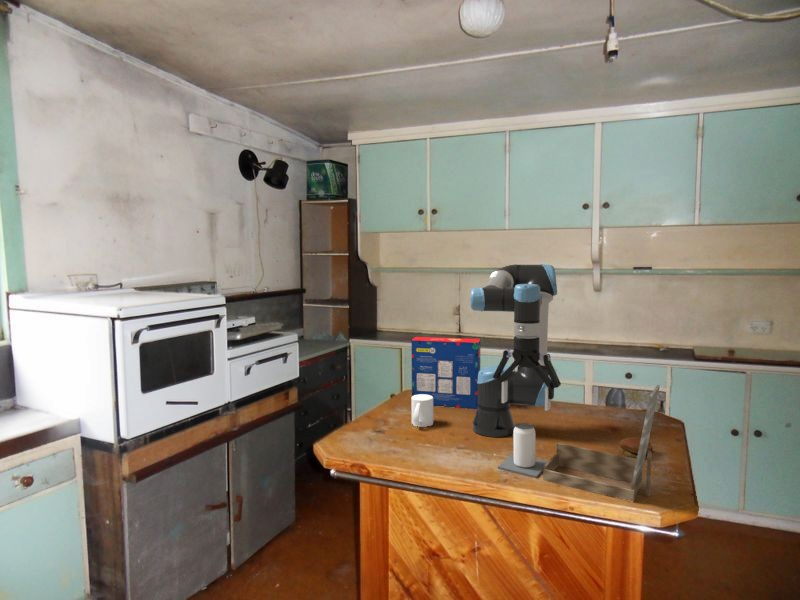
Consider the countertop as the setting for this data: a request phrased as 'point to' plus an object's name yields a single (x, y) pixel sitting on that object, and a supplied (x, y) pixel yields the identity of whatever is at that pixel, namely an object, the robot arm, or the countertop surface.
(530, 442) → the can
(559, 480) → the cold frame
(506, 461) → the mat
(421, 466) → the countertop surface
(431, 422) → the mug
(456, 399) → the blue board game box
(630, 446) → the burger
